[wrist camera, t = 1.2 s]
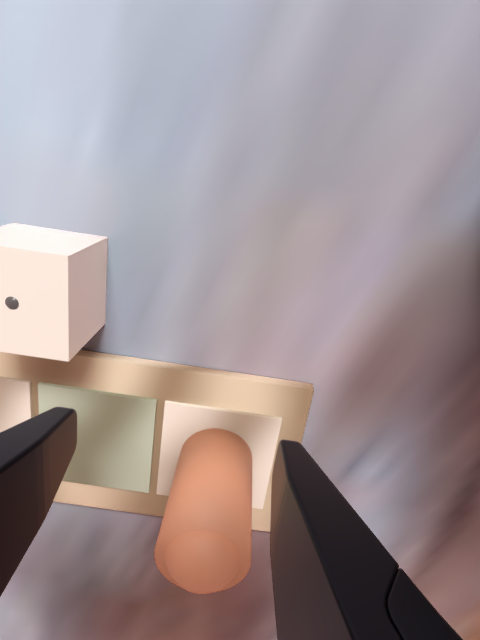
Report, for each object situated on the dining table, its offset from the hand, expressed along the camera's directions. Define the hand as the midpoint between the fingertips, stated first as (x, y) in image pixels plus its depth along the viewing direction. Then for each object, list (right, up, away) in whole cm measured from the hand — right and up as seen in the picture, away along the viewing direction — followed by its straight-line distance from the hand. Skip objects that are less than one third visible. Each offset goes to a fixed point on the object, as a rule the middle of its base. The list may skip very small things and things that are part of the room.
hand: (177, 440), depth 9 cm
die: (-7, +5, +9) cm, 12 cm away
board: (-9, -3, +12) cm, 15 cm away
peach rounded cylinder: (0, -4, +11) cm, 12 cm away
